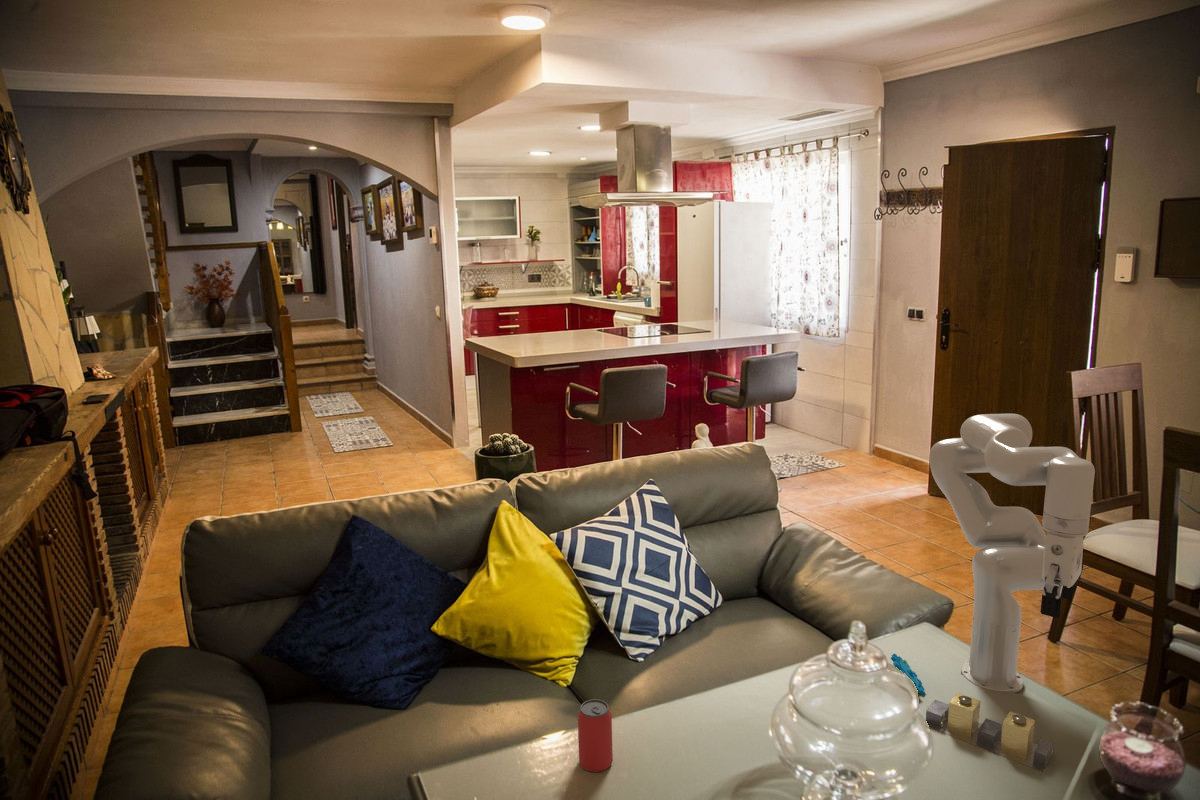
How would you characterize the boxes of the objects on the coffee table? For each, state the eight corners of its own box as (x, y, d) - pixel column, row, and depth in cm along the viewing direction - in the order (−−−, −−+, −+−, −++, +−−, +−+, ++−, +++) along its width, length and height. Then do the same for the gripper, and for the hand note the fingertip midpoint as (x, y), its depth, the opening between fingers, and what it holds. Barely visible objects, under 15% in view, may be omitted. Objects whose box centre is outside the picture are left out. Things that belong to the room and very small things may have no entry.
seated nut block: (955, 718, 161) (957, 689, 160) (978, 727, 158) (980, 698, 157) (947, 729, 158) (949, 699, 157) (970, 738, 155) (973, 708, 154)
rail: (936, 711, 166) (937, 696, 165) (1053, 755, 151) (1055, 739, 150) (922, 729, 160) (923, 713, 159) (1042, 776, 145) (1044, 760, 144)
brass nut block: (1032, 747, 152) (1035, 717, 150) (1026, 759, 148) (1029, 728, 147) (1007, 738, 155) (1010, 708, 153) (1000, 749, 151) (1003, 719, 150)
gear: (930, 699, 167) (896, 662, 169) (908, 714, 169) (875, 678, 170) (925, 678, 178) (893, 643, 179) (905, 693, 179) (873, 658, 181)
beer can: (588, 778, 148) (586, 721, 145) (573, 758, 154) (571, 703, 151) (618, 766, 151) (617, 711, 148) (603, 747, 157) (601, 693, 154)
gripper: (1077, 541, 138) (1067, 629, 142) (1098, 514, 151) (1088, 596, 154) (1030, 531, 143) (1022, 617, 147) (1054, 506, 156) (1046, 585, 159)
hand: (1056, 606), depth 151 cm, fingers open, 9 cm apart
